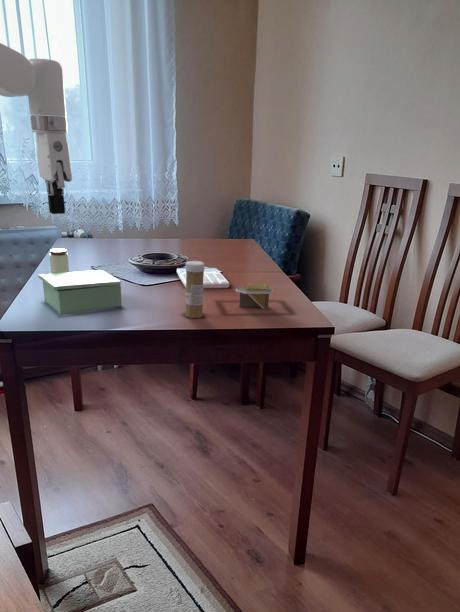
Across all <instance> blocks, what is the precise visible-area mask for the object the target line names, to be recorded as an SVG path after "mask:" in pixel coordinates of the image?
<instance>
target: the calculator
mask: <svg viewBox="0 0 460 612" xmlns="http://www.w3.org/2000/svg"><path fill="white" fill-rule="evenodd" d="M176 274H177V276H178V278H179V279H180V281H181V282H182V284H183V286H184V288H186V267H177V268H176ZM203 283H204V286H203V289H228V288H230V282H229V280H228V279H226V277H225V276H224V275H223V274H222V273H221V271H220V270H219V269H217V268H216V267H204V276H203Z"/></svg>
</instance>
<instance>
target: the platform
mask: <svg viewBox="0 0 460 612" xmlns="http://www.w3.org/2000/svg"><path fill="white" fill-rule="evenodd" d="M245 285H246V287H236V288H235V291H236V292H237V293H239V301H238V302H239V304H238V308H261V309H263V310H264V309H266V308H268V307H269V300H270V299H269V298H270V295H271V294H273V292H274V288H273V287H269V284H268V283H267V282H266V283H264V282H262V283H261V282H246V283H245Z"/></svg>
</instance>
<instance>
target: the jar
mask: <svg viewBox="0 0 460 612" xmlns="http://www.w3.org/2000/svg"><path fill="white" fill-rule="evenodd" d="M49 264H50V273H65V272H70V263H69V254H68V250H67V249H65V248H52V249H50V250H49Z"/></svg>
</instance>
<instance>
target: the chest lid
mask: <svg viewBox="0 0 460 612" xmlns="http://www.w3.org/2000/svg"><path fill="white" fill-rule="evenodd" d="M37 275H38V278H39V279H40V280H41V281H42V282H43V281H44V282H45V283H46V284H47V285H49V286H50V287H51V288H53V289H54V290H62V289H73V288H85V287H97V286H109V285H121V280H119V279H118V278H116V277H114V276H113V275H111V274H110V273H107V272H106V271H104V270H102V269H94V270H82V271H81V270H79V271H69V272H65V273H51V272H50V273H39V274H37Z"/></svg>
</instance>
